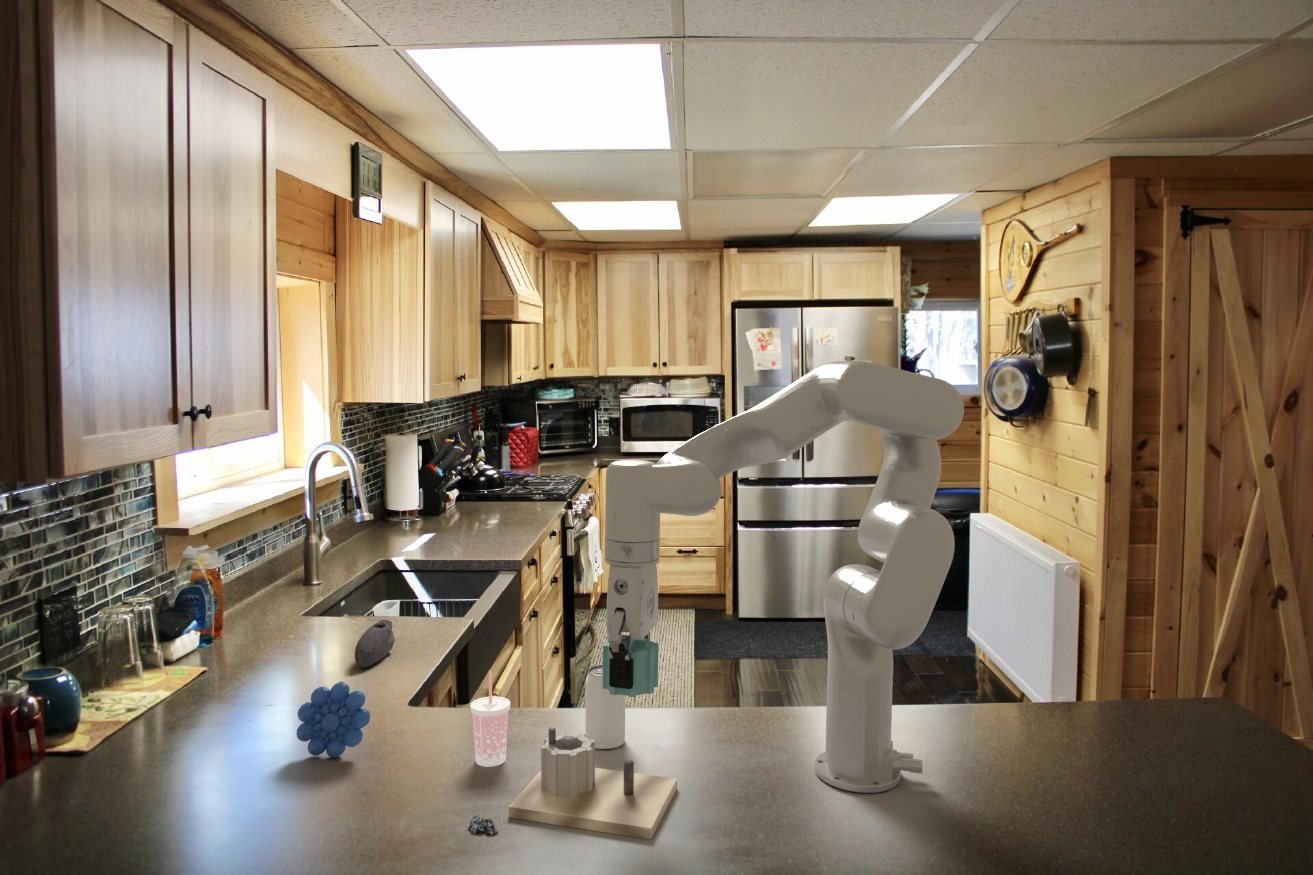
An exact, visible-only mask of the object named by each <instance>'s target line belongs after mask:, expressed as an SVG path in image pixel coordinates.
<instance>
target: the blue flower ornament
mask: <svg viewBox="0 0 1313 875" xmlns="http://www.w3.org/2000/svg"><path fill="white" fill-rule="evenodd" d="M365 703H366V695H365V693H364V692H363V691H361V690H354V691H351V693H350V686H349V684H348V683H346V682H345V681H344V682H343V681H339V682H337V683H335V684H333V685H332V687H331V688H330V689H329V688H328V687H326V686H318V687H317V688H315V689H314V690H313V691H312V693H311V695H310V701H307V702H305V703H303V704H302V705H301V706H300V707H299V708H298V710H297V718H298V721H300V722H302V723H301V724H299V726H298V727H297V729H296V737H297V739H298V740H299V741H300V742H304V743H305V742H308V743H307V752H308V754H310V755H312V756H313V757H314V756H320V755H322V754H323V753H325V752H326V755H327V756H328V757H330V758H333V759H336V758H338V757H340V756H341V755H343V754H344V752H345V751H346V747H348V748H354V747H356V746H358V745H359V744H360V743H361V742H362V741H363V737H364V733H363V731H362V730H363V728H364V727H366V726H367V725H368V724H369V723H370V722H371V713H370V710H368V709H367V708H363V706H364V705H365Z"/></svg>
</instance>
